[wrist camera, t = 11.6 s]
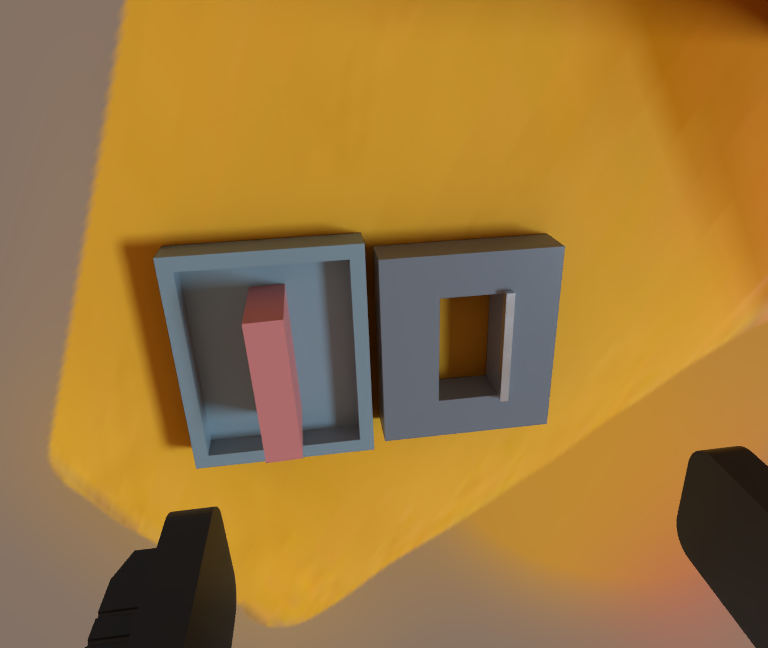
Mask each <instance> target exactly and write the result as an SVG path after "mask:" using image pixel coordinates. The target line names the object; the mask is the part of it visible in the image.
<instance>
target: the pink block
mask: <svg viewBox="0 0 768 648" xmlns="http://www.w3.org/2000/svg"><path fill="white" fill-rule="evenodd" d="M242 329H243V335H244V341H245V346H246V352H247V358H248V363H249V369H250V375H251V380H252V386H253V392H254V397H255V403H256V409H257V414H258V420H259V426H260V432H261V437H262V443H263V449H264V454H265V460H266V463H270V462H277V461H285V460H293V459H300V458H303V432H302V404H301V397H300V390H299V382H298V375H297V368H296V360H295V353H294V346H293V338H292V331H291V324H290V317H289V309H288V302H287V295H286V287H285V284H278V285H268V286H258V287H249V290H248V295H247V300H246V305H245V310H244V315H243V320H242Z"/></svg>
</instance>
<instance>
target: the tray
mask: <svg viewBox="0 0 768 648" xmlns="http://www.w3.org/2000/svg"><path fill="white" fill-rule="evenodd" d="M153 260H154V265H155V270H156V275H157V280H158V285H159V289H160V294H161V299H162V304H163V309H164V314H165V319H166V324H167V328H168V333H169V338H170V343H171V348H172V353H173V358H174V362H175V367H176V372H177V377H178V382H179V387H180V392H181V397H182V401H183V406H184V411H185V416H186V421H187V426H188V431H189V435H190V440H191V445H192V450H193V455H194V460H195V465H196V469H198V468H207V467H216V466H225V465H234V464H243V463H253V462H262V461H266V460H265V454H264V449H263V443H262V437H261V432H260V426H259V420H258V414H257V409H256V403H255V397H254V392H253V386H252V380H251V375H250V369H249V363H248V358H247V352H246V346H245V341H244V335H243V329H242V320H243V315H244V310H245V305H246V300H247V295H248V290H249V287H258V286H268V285H278V284H285V287H286V295H287V302H288V309H289V317H290V324H291V331H292V338H293V346H294V353H295V360H296V368H297V375H298V382H299V390H300V397H301V404H302V432H303V457H308V456H317V455H326V454H335V453H345V452H354V451H363V450H372V449H374V436H373V415H372V393H371V372H370V350H369V329H368V307H367V286H366V264H365V243H364V241H363V238H362V235H361V233H349V234H334V235H320V236H305V237H290V238H275V239H261V240H246V241H231V242H216V243H201V244H187V245H172V246H161V248H160V249H159V250H158V252H157V253H156V255H155V256H154V258H153Z"/></svg>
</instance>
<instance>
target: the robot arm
mask: <svg viewBox="0 0 768 648" xmlns="http://www.w3.org/2000/svg"><path fill="white" fill-rule="evenodd" d="M677 532H678V537H679V540H680V543H681V546H682V548H683V550H684V552H685V554H686V555H687V557H688V558H689V560H690V561H691V562H692V564H693V565H694V566H695V568H696V569H697V570H698V572H699V573H700V574H701V576H702V577H703V578H704V580H705V581H706V582H707V584H708V585H709V586H710V588H711V589H712V590H713V592H714V593H715V594H716V596H717V597H718V598H719V599H720V601H721V602H722V603H723V605H724V606H725V607H726V609H727V610H728V611H729V613H730V614H731V615H732V617H733V618H734V619H735V621H736V622H737V623H738V625H739V626H740V627H741V629H742V630H743V631H744V633H745V634H746V635H747V637H748V638H749V639H750V641H751V642H752V643H753V645H754V646H755V647H756V648H768V466H767V465H765V463H763V462H762V461H761V460H760V459H759V458H758V457H757V456H756V455H755V454H753V453H752V452H751V451H750V450H748V449H747V448H745V447H742V446H735V447H726V448H717V449H709V450H701V451H696V452H694V453H693V454H692V455H691V457H690V459H689V462H688V467H687V472H686V476H685V481H684V486H683V491H682V496H681V500H680V505H679V510H678V515H677ZM235 614H236V583H235V575H234V570H233V566H232V561H231V557H230V552H229V547H228V543H227V538H226V534H225V529H224V525H223V520H222V516H221V512H220V510H219V508H218V507H208V508H200V509H191V510H183V511H175V512H170V513H169V514H168V515H167V517H166V520H165V523H164V526H163V529H162V532H161V536H160V539H159V542H158V545H157V548H152V549H144V550H136V551H134V552H133V553H132V554H131V556H130V557H129V558H128V559H127V561H126V562H125V563H124V564H123V565H122V566H121V568H120V569H119V570H118V571H117V573H116V574H115V575H114V576H113V577H112V578H111V580H110V583H109V585H108V588H107V590H106V593H105V595H104V598H103V601H102V603H101V606H100V609H99V611H98V618H97V619H95V622H94V624H93V627H92V630H91V633H90V635H89V638H88V646H87V647H85V648H231V645H232V638H233V631H234V623H235Z"/></svg>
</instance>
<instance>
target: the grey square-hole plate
mask: <svg viewBox="0 0 768 648" xmlns="http://www.w3.org/2000/svg"><path fill="white" fill-rule="evenodd" d="M564 250H565V246H564V245H562V244H561V243H560V242H558V241H557V240H555V239H554V238H552V237H551V236H550V235H548V234H539V235H525V236H510V237H496V238H482V239H468V240H454V241H439V242H425V243H411V244H397V245H383V246H373V259H374V284H375V309H376V333H377V358H378V383H379V408H380V421H381V425H382V430H383V434H384V438H385V441H391V440H400V439H409V438H419V437H428V436H437V435H447V434H456V433H465V432H475V431H484V430H493V429H502V428H512V427H521V426H530V425H540V424H547V416H548V407H549V397H550V387H551V377H552V368H553V358H554V348H555V338H556V328H557V319H558V309H559V299H560V289H561V280H562V270H563V260H564ZM477 295H490V297H489V318H488V339H487V360H486V375H480V376H470V377H459V378H449V379H439V322H440V299H441V298H453V297H465V296H477Z"/></svg>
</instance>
